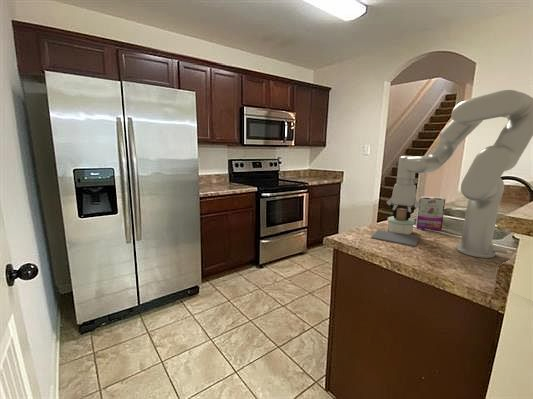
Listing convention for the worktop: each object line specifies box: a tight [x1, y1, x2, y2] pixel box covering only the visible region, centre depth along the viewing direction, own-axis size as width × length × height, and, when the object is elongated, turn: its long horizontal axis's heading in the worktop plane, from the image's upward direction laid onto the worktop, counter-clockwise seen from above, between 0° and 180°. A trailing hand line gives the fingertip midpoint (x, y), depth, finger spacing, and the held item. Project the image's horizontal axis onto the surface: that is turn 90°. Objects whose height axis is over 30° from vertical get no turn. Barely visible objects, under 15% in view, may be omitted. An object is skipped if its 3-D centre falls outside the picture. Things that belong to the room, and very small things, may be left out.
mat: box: [371, 229, 420, 248], centre depth 122 cm, size 18×13×1 cm
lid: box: [387, 207, 416, 226], centre depth 131 cm, size 12×12×6 cm
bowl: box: [387, 220, 415, 235], centre depth 132 cm, size 11×11×5 cm
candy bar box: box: [415, 195, 446, 232], centre depth 135 cm, size 11×5×16 cm, turn 68°
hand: (401, 218), depth 131 cm, fingers closed on lid, 5 cm apart
